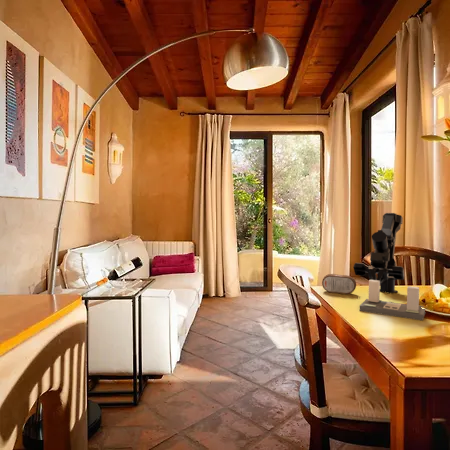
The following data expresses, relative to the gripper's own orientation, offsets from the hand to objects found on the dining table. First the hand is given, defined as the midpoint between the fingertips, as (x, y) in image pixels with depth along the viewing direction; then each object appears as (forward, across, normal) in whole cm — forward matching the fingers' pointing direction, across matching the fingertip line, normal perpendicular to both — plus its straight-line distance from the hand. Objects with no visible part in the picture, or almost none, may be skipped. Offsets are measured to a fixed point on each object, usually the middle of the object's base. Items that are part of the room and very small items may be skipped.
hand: (375, 287), depth 138 cm
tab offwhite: (+5, 0, +2) cm, 5 cm away
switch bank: (+8, +7, +2) cm, 11 cm away
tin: (-5, -18, +16) cm, 25 cm away
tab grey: (+8, +14, -1) cm, 16 cm away
